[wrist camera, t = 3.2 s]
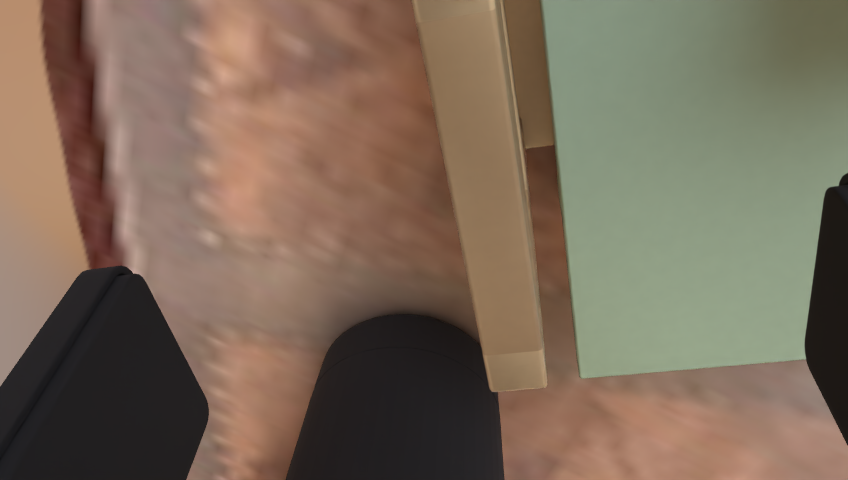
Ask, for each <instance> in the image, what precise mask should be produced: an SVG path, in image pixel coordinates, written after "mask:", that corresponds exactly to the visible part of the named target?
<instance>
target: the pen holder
mask: <svg viewBox="0 0 848 480" xmlns="http://www.w3.org/2000/svg"><path fill="white" fill-rule="evenodd" d="M286 480H504V469H503V454H502V439H501V425H500V414H499V402H498V392H492V391H491V390H490V388H489V384H488V379H487V374H486V369H485V364H484V359H483V354H482V349H481V346H480V345H479V344H478V343H477V342H476V341H474V340H473V339H472V338H471V337H470V336H468V335H467V334H465V333H464V332H463V331H461V330H460V329H458V328H456V327H454V326H452V325H450V324H448V323H445V322H443V321H440V320H437V319H434V318H430V317H425V316H420V315H410V314H396V315H387V316H382V317H377V318H374V319H371V320H368V321H365V322H362V323H360V324H358V325H356V326H354V327H352V328H350V329H349V330H347V331H346V332H344V333H343V334H342V335H341V336H340V337H339V338H338V339H336V341H335V342H334V343H333V344H332V345H331V347H330V349H329V350H328V352H327V354H326V356H325V358H324V361H323V364H322V367H321V369H320V372H319V375H318V378H317V381H316V384H315V388H314V391H313V393H312V396H311V399H310V402H309V406H308V409H307V412H306V415H305V418H304V422H303V425H302V428H301V431H300V435H299V438H298V441H297V444H296V447H295V451H294V454H293V457H292V460H291V464H290V467H289V470H288V473H287V477H286Z"/></svg>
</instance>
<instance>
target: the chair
mask: <svg viewBox="0 0 848 480" xmlns="http://www.w3.org/2000/svg"><path fill="white" fill-rule="evenodd" d="M411 2H412V7H413V12H414V17H415V22H416V27H417V31H418V36H419V41H420V46H421V51H422V56H423V61H424V66H425V71H426V76H427V81H428V86H429V91H430V96H431V101H432V106H433V111H434V116H435V121H436V126H437V131H438V136H439V141H440V146H441V151H442V156H443V161H444V165H445V170H446V175H447V180H448V185H449V190H450V195H451V200H452V205H453V210H454V215H455V220H456V225H457V230H458V235H459V240H460V245H461V250H462V255H463V260H464V265H465V270H466V275H467V280H468V285H469V290H470V295H471V300H472V304H473V309H474V314H475V319H476V324H477V329H478V334H479V339H480V344H481V349H482V354H483V359H484V364H485V369H486V374H487V379H488V384H489V388H490V390H491V391H492V392H504V391H516V390H527V389H539V388H545V387H546V386H547V383H548V381H547V371H546V360H545V349H544V339H543V328H542V318H541V307H540V296H539V286H538V275H537V264H536V254H535V243H534V233H533V222H532V211H531V201H530V190H529V179H528V169H527V158H526V149H528V148H535V147H543V146H550V145H554V136H553V127H552V117H551V108H550V98H549V88H548V79H547V69H546V60H545V50H544V41H543V31H542V22H541V12H540V2H539V0H411Z"/></svg>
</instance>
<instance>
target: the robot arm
mask: <svg viewBox="0 0 848 480" xmlns="http://www.w3.org/2000/svg"><path fill="white" fill-rule="evenodd" d="M804 347H805V355H806V360H807V364H808V367H809V369H810V371H811V373H812V375H813V377H814V379H815V381H816V383H817V385H818V387H819V389H820V391H821V393H822V395H823V397H824V399H825V401H826V403H827V405H828V407H829V409H830V411H831V413H832V415H833V417H834V419H835V421H836V423H837V425H838V427H839V429H840V431H841V433H842V435H843V437H844V439H845V441H846V443H847V445H848V173H846V174H845V175H843V176H842V178H841V180H840V182H839V186H834V187H829V188H828V189H827V190H826V192H825V196H824V201H823V208H822V216H821V223H820V231H819V238H818V245H817V253H816V260H815V268H814V275H813V283H812V290H811V297H810V305H809V312H808V320H807V327H806V334H805V345H804ZM208 416H209V408H208V403H207V400H206V397H205V395H204V393H203V391H202V389H201V387H200V386H199V384H198V382H197V380H196V378H195V376H194V374H193V372H192V370H191V368H190V366H189V364H188V362H187V361H186V359H185V357H184V355H183V353H182V351H181V349H180V347H179V345H178V343H177V341H176V339H175V337H174V335H173V334H172V332H171V330H170V328H169V326H168V324H167V322H166V320H165V318H164V316H163V314H162V312H161V310H160V309H159V307H158V305H157V303H156V301H155V299H154V297H153V295H152V293H151V291H150V289H149V287H148V285H147V283H146V282H145V280H144V279H143V277H141V276H140V275H138V274H133V273H132V271H131V270H130V269H128V268H127V267H125V266H115V267H107V268H99V269H91V270H86V271H83V272H82V273H81V274H80V275H79V276H78V277H77V278H76V280H75V281H74V282H73V284H72V285H71V287H70V288H69V290H68V291H67V292H66V294H65V295H64V297H63V298H62V300H61V301H60V302H59V304H58V305H57V307H56V308H55V309H54V311H53V312H52V314H51V315H50V317H49V318H48V319H47V321H46V322H45V324H44V325H43V327H42V328H41V329H40V331H39V332H38V334H37V335H36V337H35V338H34V339H33V341H32V342H31V344H30V345H29V347H28V348H27V349H26V351H25V353H24V354H23V355H22V357H21V358H20V359H19V361H18V362H17V364H16V365H15V366H14V368H13V369H12V371H11V372H10V374H9V375H8V376H7V378H6V379H5V381H4V382H3V384H2V385H1V386H0V480H186V479H187V476H188V473H189V471H190V468H191V465H192V463H193V460H194V457H195V455H196V452H197V449H198V447H199V444H200V441H201V439H202V436H203V433H204V431H205V428H206V425H207V422H208Z"/></svg>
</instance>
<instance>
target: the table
mask: <svg viewBox="0 0 848 480" xmlns="http://www.w3.org/2000/svg"><path fill="white" fill-rule="evenodd" d="M539 2H540V12H541V22H542V31H543V41H544V50H545V60H546V69H547V79H548V88H549V98H550V108H551V117H552V127H553V136H554V146H555V155H556V165H557V184H558V193H559V202H560V208H561V215H562V222H563V232H564V241H565V251H566V261H567V270H568V280H569V289H570V299H571V308H572V318H573V327H574V337H575V347H576V356H577V363H578V370H579V377H580V378H581V379H584V378H596V377H608V376H619V375H631V374H643V373H654V372H666V371H678V370H689V369H701V368H713V367H724V366H736V365H748V364H759V363H771V362H782V361H794V360H806V355H805V347H804V345H805V334H806V327H807V320H808V312H809V305H810V297H811V290H812V283H813V275H814V268H815V260H816V253H817V245H818V238H819V231H820V223H821V216H822V208H823V201H824V196H825V192H826V190H827V189H828V188H829V187H834V186H839V182H840V180H841V178H842V176H843V175H845V174H846V173H848V0H539Z"/></svg>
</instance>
